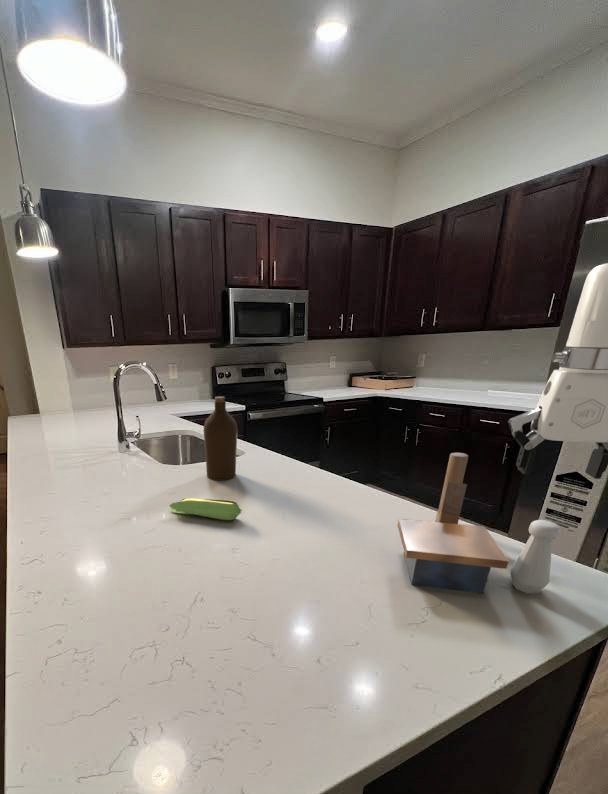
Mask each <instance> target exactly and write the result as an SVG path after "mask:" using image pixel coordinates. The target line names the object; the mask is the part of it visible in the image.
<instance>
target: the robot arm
mask: <svg viewBox="0 0 608 794" xmlns="http://www.w3.org/2000/svg"><path fill="white" fill-rule="evenodd" d="M570 327H571V328H570V331H569V334H568V338H567V340H566V343H565V347H563V348H562V351H560V352H556V351H555V352H553V354H552V356H551V363H557V364H558V367H559V368H558V369H553V371H552V373H551V374H550V376H549V379H548V380H547V382H546V383H545V386H544V388H543V390H542V393H541V395H540V397H539V400H538V402H537V405H536V408H534V409H532V410H530V411H526V412H524V413H521V414H519V415H516V416H514V417H511V418H509V419H508V421H507V423H508V425H509V429H510V431H511V436H512V437H513V438H514V440H515V441H516V442H517V444H518V445H519V446H520V448H519V450H518V451H519V452H518V455H517V459H516V463H515V466H516V467H517V470H518V471H519V472H520V473H521V474H523V475H529V474H530V473H531V472H532V471H531V470H532V467H533V465H534V461H535V457H536V454H537V451H536V449H535V447H537V446H538V445H539V444H541V443H542V442H543V441H545V440H549V441H556V442H557V441H558V442H577V443H578V442H579V443H595V444H596V446H597V448H593V450H592V451H591V454H590V457H589V460H588V462H587V465H586V468H585V474H587V475H588V476H590V477H592V478H594V479H595V480H600V479H602V477H603V473H605V472H606V470H607V468H608V263H603V264H600V265H597V266H595V267H594V268H593V269H591V270H590V271H589V273H588V274H587V275H586V278H585V281H584V283H583V287H582V291H581V294H580V297H579V301H578V304H577V307H576V311H575V313H574V318H573V321H572V323H571V326H570ZM530 422H531V424H530V431H529V432H528V433H526V434H525V433H524V432H523V425H525V424H527V423H530Z"/></svg>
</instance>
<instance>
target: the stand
mask: <svg viewBox="0 0 608 794" xmlns="http://www.w3.org/2000/svg"><path fill="white" fill-rule="evenodd" d="M397 529H398V533H399V536H400V541H401V544H402V548H403V557H404V561H405V564H406V569H407V571H408V577H409V580H410V584H411V585H413V586H420V587H429V588H436V589H444V590H452V591H453V590H454V591H460V592H468V593H476V594H484V593H485V590H486V586H487V582H488V579H489V575H490V571H491V568H494V569H495V568H496V569H504V570H507V568H508V565H509V560H508V558H507V556H506V555H505V554H504V552H503V551H502V549H501V548H500V546H499V545H498V544H497V542H496V541H495V540H494V538H493V537H492V535H491V533H490V532H489V531H488V530H487V528H486V527H485V526H483V525H471V524H461V523H458V524H451V523H440V522H435V521H430V520H429V521H427V520H417V519H405V518H398V519H397Z"/></svg>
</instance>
